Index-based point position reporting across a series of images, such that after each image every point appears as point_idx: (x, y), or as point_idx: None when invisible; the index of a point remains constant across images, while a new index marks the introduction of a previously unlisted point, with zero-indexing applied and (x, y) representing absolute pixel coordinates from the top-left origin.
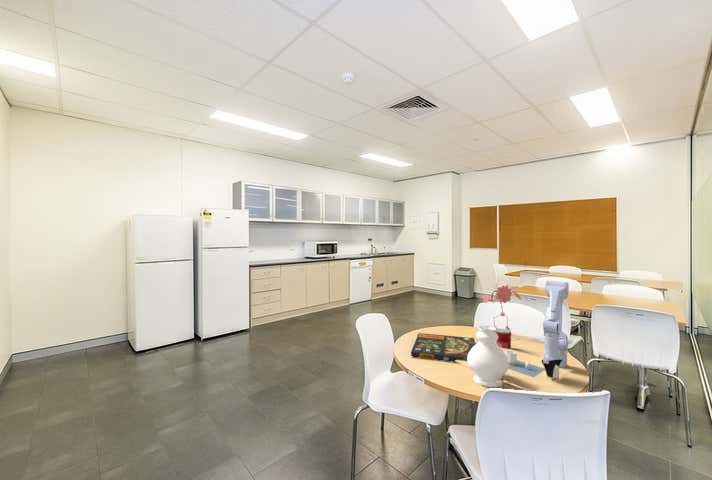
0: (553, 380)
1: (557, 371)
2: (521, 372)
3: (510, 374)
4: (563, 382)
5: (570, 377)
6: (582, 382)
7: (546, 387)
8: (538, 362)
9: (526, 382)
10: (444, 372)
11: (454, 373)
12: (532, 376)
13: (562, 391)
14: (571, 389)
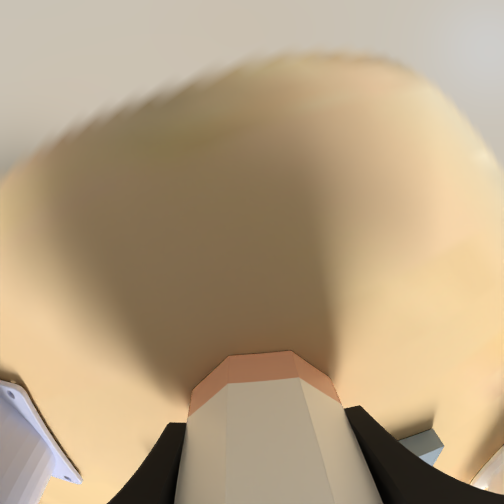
0: (321, 374)
1: (304, 451)
2: None
3: None
4: (268, 288)
5: (41, 295)
6: (49, 143)
7: (500, 315)
8: (73, 497)
9: (481, 414)
10: None
11: None
12: (436, 454)
13: (497, 193)
14: (402, 136)
